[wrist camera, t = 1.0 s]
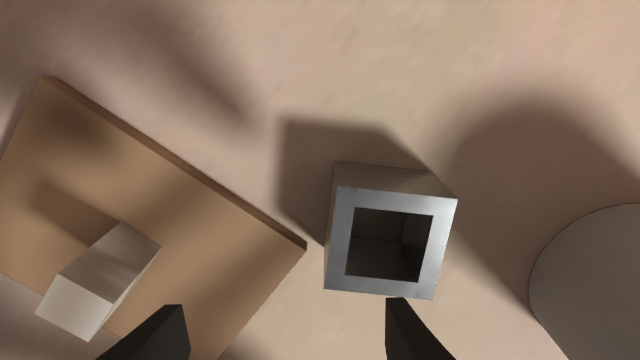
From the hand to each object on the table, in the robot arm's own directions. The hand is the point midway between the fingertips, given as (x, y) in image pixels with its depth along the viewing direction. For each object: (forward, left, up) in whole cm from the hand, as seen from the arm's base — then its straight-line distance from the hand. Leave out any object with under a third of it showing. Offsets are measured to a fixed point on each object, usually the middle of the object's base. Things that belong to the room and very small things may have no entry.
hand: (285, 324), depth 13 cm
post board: (+7, +7, -9) cm, 13 cm away
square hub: (-3, -3, -9) cm, 10 cm away
